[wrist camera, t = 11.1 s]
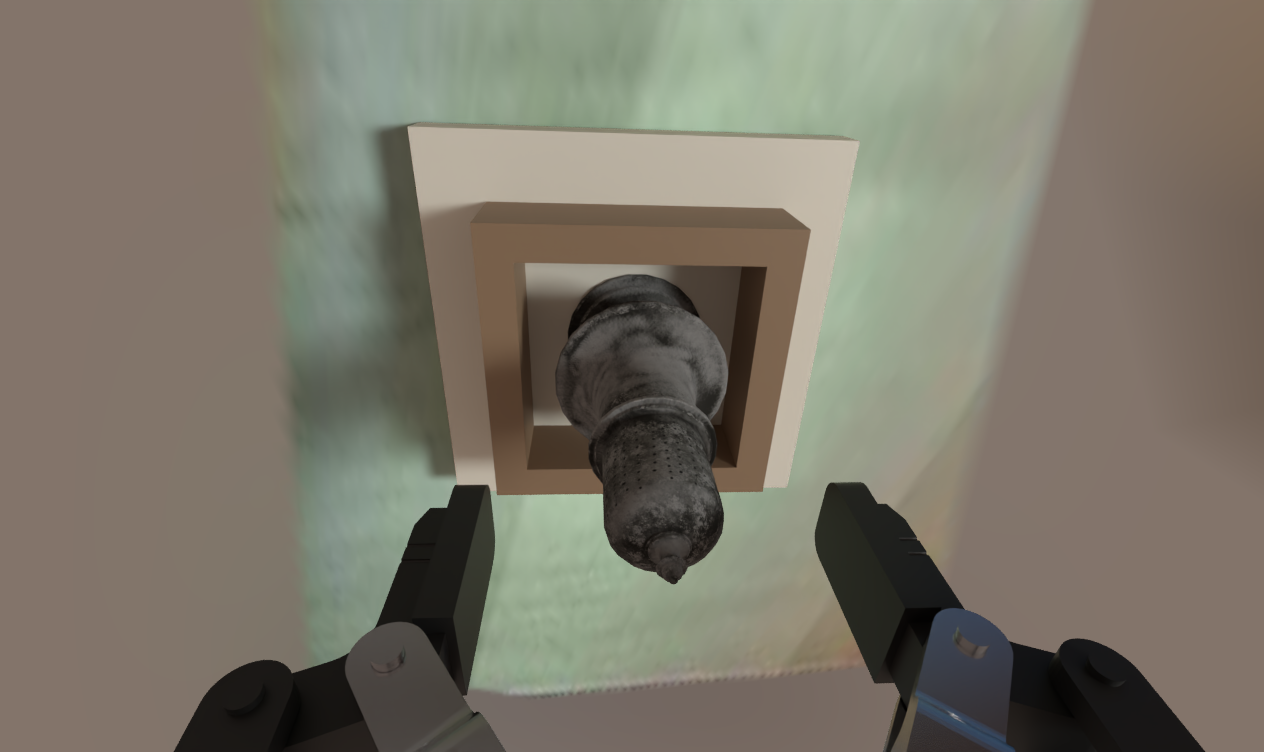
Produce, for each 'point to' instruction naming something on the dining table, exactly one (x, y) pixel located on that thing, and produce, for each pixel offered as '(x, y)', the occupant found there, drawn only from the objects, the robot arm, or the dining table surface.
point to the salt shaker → (647, 418)
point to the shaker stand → (616, 246)
